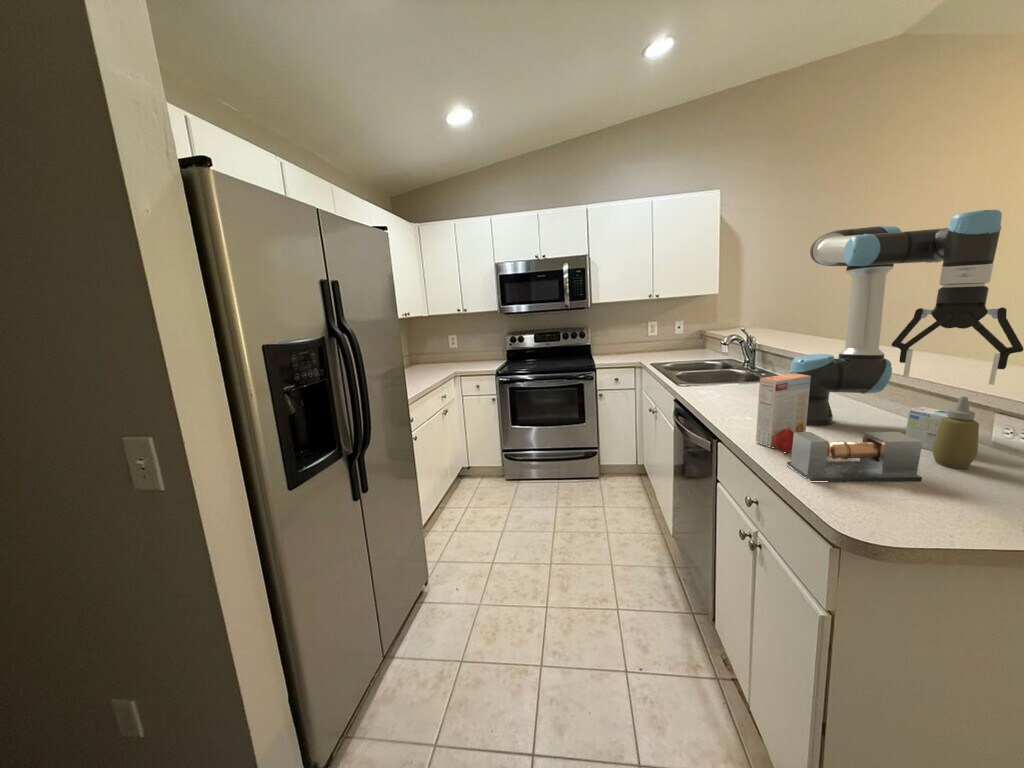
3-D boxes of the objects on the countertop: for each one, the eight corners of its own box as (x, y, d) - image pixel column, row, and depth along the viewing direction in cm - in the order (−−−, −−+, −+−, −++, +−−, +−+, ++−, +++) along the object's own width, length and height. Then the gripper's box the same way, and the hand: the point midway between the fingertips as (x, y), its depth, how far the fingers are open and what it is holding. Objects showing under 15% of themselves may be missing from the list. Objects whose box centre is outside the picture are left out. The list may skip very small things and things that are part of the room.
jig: (786, 465, 108) (790, 430, 106) (886, 464, 106) (892, 428, 104) (810, 482, 99) (815, 443, 96) (921, 481, 96) (928, 442, 94)
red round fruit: (775, 455, 115) (778, 429, 113) (770, 448, 120) (773, 423, 119) (800, 457, 113) (803, 430, 111) (793, 450, 118) (796, 424, 117)
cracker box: (787, 436, 130) (793, 372, 125) (805, 442, 124) (812, 375, 120) (753, 442, 126) (759, 376, 121) (771, 449, 120) (777, 380, 116)
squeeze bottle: (965, 473, 100) (979, 402, 96) (922, 462, 107) (934, 396, 103) (981, 466, 103) (995, 398, 99) (938, 456, 110) (949, 392, 106)
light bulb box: (965, 452, 112) (973, 414, 110) (949, 455, 110) (956, 417, 108) (918, 440, 122) (923, 405, 120) (902, 443, 120) (908, 408, 118)
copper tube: (823, 455, 104) (825, 439, 103) (898, 454, 103) (901, 438, 102) (835, 462, 100) (837, 445, 99) (913, 461, 98) (916, 444, 97)
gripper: (884, 288, 96) (872, 376, 101) (1058, 282, 77) (1034, 390, 82) (890, 288, 101) (878, 371, 105) (1055, 282, 82) (1032, 384, 87)
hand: (946, 379), depth 94 cm, fingers open, 13 cm apart
